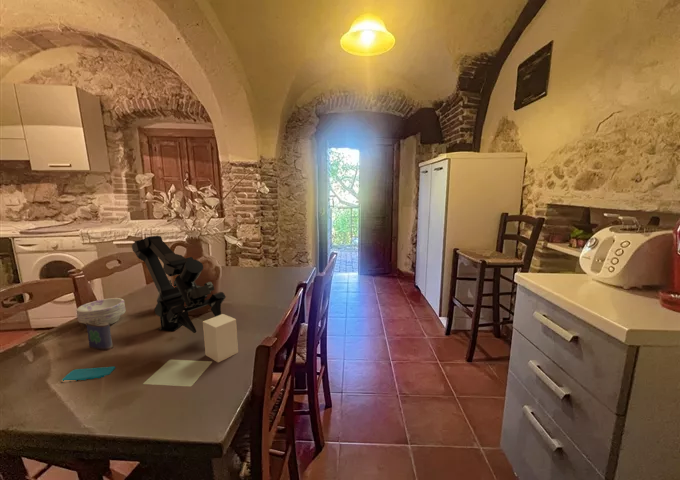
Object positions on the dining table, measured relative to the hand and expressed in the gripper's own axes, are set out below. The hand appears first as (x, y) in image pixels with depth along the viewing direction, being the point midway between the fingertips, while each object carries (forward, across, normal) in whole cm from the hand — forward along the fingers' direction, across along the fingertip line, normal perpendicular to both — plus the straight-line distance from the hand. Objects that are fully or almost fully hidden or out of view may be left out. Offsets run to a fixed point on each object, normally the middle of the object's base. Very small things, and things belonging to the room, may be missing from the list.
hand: (208, 327), depth 101 cm
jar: (-27, +9, +39) cm, 48 cm away
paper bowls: (-32, -14, +44) cm, 56 cm away
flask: (-16, -21, +28) cm, 39 cm away
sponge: (-5, -29, +17) cm, 34 cm away
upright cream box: (+10, 0, +1) cm, 10 cm away
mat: (+9, -13, +2) cm, 16 cm away
